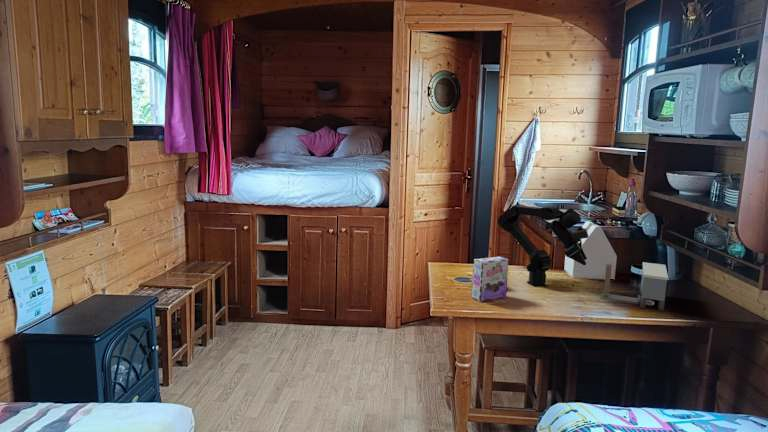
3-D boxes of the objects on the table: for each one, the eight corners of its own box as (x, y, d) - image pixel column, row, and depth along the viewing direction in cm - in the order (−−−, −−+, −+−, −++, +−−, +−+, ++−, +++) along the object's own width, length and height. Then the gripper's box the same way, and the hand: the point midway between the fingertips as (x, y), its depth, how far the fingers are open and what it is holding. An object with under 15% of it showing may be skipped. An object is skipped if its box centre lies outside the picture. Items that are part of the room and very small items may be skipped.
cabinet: (639, 307, 206) (643, 274, 204) (639, 292, 226) (642, 262, 224) (664, 311, 203) (668, 277, 200) (661, 295, 223) (665, 264, 221)
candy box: (479, 302, 207) (482, 262, 205) (470, 297, 213) (473, 258, 210) (506, 297, 214) (509, 258, 211) (497, 293, 219) (499, 255, 216)
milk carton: (572, 277, 247) (577, 226, 242) (564, 269, 262) (568, 220, 258) (614, 280, 245) (619, 227, 241) (603, 271, 260) (608, 221, 256)
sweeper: (600, 298, 216) (603, 266, 214) (601, 294, 222) (604, 263, 219) (640, 304, 210) (644, 271, 208) (640, 300, 215) (643, 268, 213)
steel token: (647, 306, 209) (648, 303, 209) (640, 303, 213) (641, 300, 213) (656, 305, 210) (656, 302, 210) (649, 302, 214) (649, 299, 214)
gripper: (577, 225, 210) (602, 256, 209) (579, 217, 227) (602, 246, 226) (554, 241, 215) (578, 271, 213) (557, 232, 232) (580, 260, 230)
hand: (585, 262), depth 221 cm, fingers open, 9 cm apart
